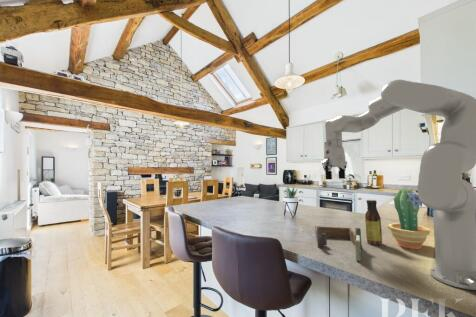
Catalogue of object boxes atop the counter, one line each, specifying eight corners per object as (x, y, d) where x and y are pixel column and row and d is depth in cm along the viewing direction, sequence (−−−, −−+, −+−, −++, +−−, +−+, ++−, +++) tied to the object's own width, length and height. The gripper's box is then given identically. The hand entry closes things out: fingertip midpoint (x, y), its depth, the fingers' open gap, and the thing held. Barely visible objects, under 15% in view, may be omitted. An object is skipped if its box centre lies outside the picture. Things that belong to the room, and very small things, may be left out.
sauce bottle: (384, 246, 98) (382, 201, 99) (369, 245, 99) (367, 201, 100) (378, 241, 105) (376, 199, 106) (364, 240, 106) (362, 199, 107)
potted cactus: (391, 248, 95) (387, 190, 97) (386, 238, 109) (383, 187, 110) (437, 254, 88) (433, 191, 89) (426, 242, 102) (422, 188, 103)
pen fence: (362, 250, 93) (361, 229, 94) (317, 247, 98) (317, 227, 98) (351, 237, 110) (351, 219, 111) (314, 236, 115) (313, 218, 115)
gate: (356, 249, 94) (356, 232, 94) (360, 249, 93) (359, 233, 93) (356, 259, 83) (355, 241, 83) (360, 260, 82) (359, 241, 82)
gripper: (328, 142, 102) (330, 179, 101) (352, 144, 110) (353, 178, 109) (315, 144, 108) (317, 179, 107) (338, 145, 116) (340, 178, 116)
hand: (335, 178), depth 108 cm, fingers open, 9 cm apart
